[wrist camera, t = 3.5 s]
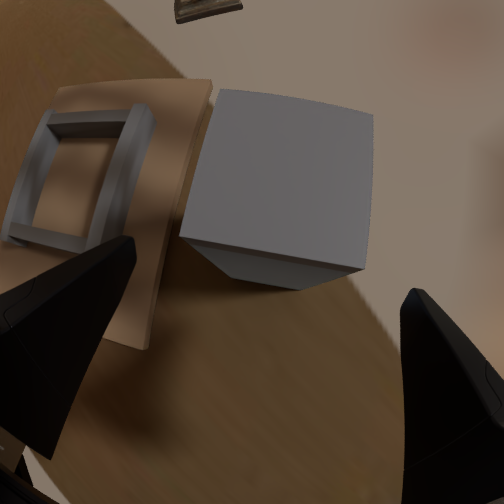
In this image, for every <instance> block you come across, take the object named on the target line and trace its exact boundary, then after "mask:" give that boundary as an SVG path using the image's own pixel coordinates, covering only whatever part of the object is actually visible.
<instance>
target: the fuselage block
mask: <svg viewBox="0 0 504 504" xmlns="http://www.w3.org/2000/svg"><path fill="white" fill-rule="evenodd" d="M372 177H373V115H372V114H368V113H365V112H361V111H357V110H353V109H348V108H344V107H339V106H336V105H331V104H326V103H321V102H316V101H311V100H305V99H300V98H294V97H288V96H281V95H274V94H267V93H259V92H250V91H241V90H229V89H220V91H219V94H218V97H217V100H216V103H215V106H214V109H213V113H212V116H211V119H210V122H209V126H208V129H207V132H206V136H205V139H204V142H203V146H202V149H201V153H200V156H199V160H198V163H197V167H196V171H195V174H194V178H193V182H192V186H191V189H190V193H189V197H188V201H187V205H186V209H185V213H184V217H183V221H182V226H181V230H180V234H179V236H180V237H181V238H182V239H183V240H184V241H186V242H187V243H188V244H189V245H191V246H192V247H193V248H194V249H196V250H197V251H198V252H199V253H201V254H202V255H203V256H204V257H206V258H207V259H208V260H209V261H211V262H212V263H213V264H214V265H216V266H217V267H218V268H219V269H221V270H222V271H223V272H224V273H226V274H227V275H228V276H229V277H231V278H235V279H240V280H246V281H251V282H257V283H262V284H268V285H273V286H279V287H285V288H290V289H296V290H303V289H306V288H309V287H313V286H316V285H319V284H322V283H325V282H328V281H331V280H334V279H337V278H340V277H343V276H346V275H349V274H352V273H355V272H358V271H361V270H363V269H365V263H366V254H367V246H368V236H369V225H370V211H371V196H372Z"/></svg>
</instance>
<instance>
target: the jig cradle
mask: <svg viewBox="0 0 504 504" xmlns="http://www.w3.org/2000/svg"><path fill="white" fill-rule="evenodd" d="M212 89H213V85H212V81H211V80H209V79H135V80H119V81H107V82H97V83H89V84H81V85H73V86H67V87H61V88H59V89H58V91H57V93H56V95H55V96H54V98H53V100H52V102H51V104H50V106H49V108H48V110H46V111H45V113H44V115H43V117H42V119H41V121H40V123H39V125H38V127H37V130H36V132H35V134H34V136H33V138H32V141H31V143H30V145H29V148H28V150H27V153H26V155H25V158H24V160H23V163H22V165H21V168H20V171H19V174H18V176H17V179H16V182H15V185H14V188H13V191H12V194H11V198H10V201H9V204H8V208H7V211H6V215H5V218H4V222H3V226H2V230H1V234H0V240H1V241H0V294H2V293H4V292H6V291H8V290H10V289H12V288H15V287H16V286H18V285H20V284H22V283H24V282H26V281H28V280H30V279H32V278H34V277H36V276H37V275H39V274H41V273H43V272H45V271H47V270H49V269H51V268H53V267H55V266H57V265H59V264H61V263H63V262H65V261H67V260H69V259H71V258H73V257H75V256H77V255H79V254H81V253H83V252H85V251H87V250H90V249H92V248H94V247H96V246H98V245H100V244H102V243H104V242H107V241H109V240H111V239H113V238H115V237H118V236H120V235H128V236H132V237H133V238H134V240H135V246H136V253H137V262H136V265H135V268H134V270H133V272H132V275H131V277H130V280H129V282H128V284H127V287H126V289H125V292H124V294H123V297H122V299H121V301H120V303H119V305H118V307H117V309H116V311H115V313H114V315H113V317H112V319H111V321H110V323H109V325H108V327H107V329H106V331H105V333H104V335H103V337H102V338H105V339H108V340H111V341H114V342H117V343H120V344H124V345H127V346H130V347H133V348H136V349H140V350H145V349H148V348H149V341H150V335H151V329H152V323H153V317H154V311H155V306H156V300H157V295H158V290H159V284H160V279H161V275H162V270H163V265H164V260H165V256H166V251H167V247H168V242H169V238H170V234H171V229H172V225H173V221H174V217H175V213H176V209H177V205H178V201H179V197H180V193H181V190H182V186H183V182H184V179H185V175H186V171H187V168H188V164H189V161H190V157H191V154H192V151H193V147H194V144H195V141H196V137H197V134H198V131H199V128H200V125H201V122H202V118H203V115H204V112H205V109H206V106H207V103H208V100H209V97H210V94H211V92H212Z"/></svg>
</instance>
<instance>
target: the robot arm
mask: <svg viewBox="0 0 504 504" xmlns="http://www.w3.org/2000/svg"><path fill="white" fill-rule="evenodd" d="M136 262H137V253H136V246H135V240H134V238H133V237H132V236H128V235H120V236H118V237H115V238H113V239H111V240H109V241H107V242H104V243H102V244H100V245H98V246H96V247H94V248H92V249H90V250H87V251H85V252H83V253H81V254H79V255H77V256H75V257H73V258H71V259H69V260H67V261H65V262H63V263H61V264H59V265H57V266H55V267H53V268H51V269H49V270H47V271H45V272H43V273H41V274H39V275H37V276H36V277H34V278H32V279H30V280H28V281H26V282H24V283H22V284H20V285H18V286H16V287H15V288H12V289H10V290H8V291H6V292H4V293H2V294H0V504H59V503H58V502H56V501H54V500H53V499H51V498H49V497H48V496H46V495H45V494H43V493H41V492H40V491H38V490H37V489H35V488H34V487H33V483H32V481H31V478H30V475H29V472H28V469H27V466H26V463H25V459H24V456H23V454H22V453H23V451H24V448H25V446H26V445H27V446H28V447H30V448H31V449H33V450H34V451H36V452H37V453H39V454H41V455H42V456H44V457H45V458H47V459H49V460H51V458H52V456H53V453H54V451H55V448H56V445H57V442H58V439H59V437H60V434H61V431H62V429H63V426H64V424H65V421H66V418H67V416H68V413H69V411H70V408H71V406H72V403H73V401H74V398H75V396H76V394H77V391H78V389H79V387H80V384H81V382H82V380H83V377H84V375H85V373H86V371H87V369H88V366H89V364H90V362H91V360H92V358H93V356H94V353H95V351H96V349H97V347H98V345H99V343H100V341H101V339H102V337H103V335H104V333H105V331H106V329H107V327H108V325H109V323H110V321H111V319H112V317H113V315H114V313H115V311H116V309H117V307H118V305H119V303H120V301H121V299H122V297H123V294H124V292H125V289H126V287H127V284H128V282H129V280H130V277H131V275H132V272H133V270H134V268H135V265H136ZM400 338H401V339H400V349H401V364H402V376H403V392H404V418H405V451H404V474H403V489H402V501H401V504H504V380H503V379H502V378H501V376H500V375H499V374H498V373H497V372H496V370H495V369H494V368H493V367H492V366H491V364H490V363H489V362H488V361H487V360H486V358H485V357H484V356H483V355H482V353H480V351H479V350H478V349H477V348H476V346H475V345H474V344H473V343H472V342H471V341H470V339H469V338H468V337H467V336H466V335H465V334H464V333H463V332H462V330H461V329H460V328H459V327H458V326H457V325H456V324H455V322H453V320H452V319H451V318H450V317H449V316H448V315H447V314H446V313H445V312H444V311H443V310H442V309H441V307H440V306H439V305H438V304H437V303H436V302H435V301H434V300H433V299H432V298H431V297H430V296H429V295H428V294H427V293H426V292H425V291H424V290H423V289H418V288H412V289H411V290H410V291H409V293H408V295H407V297H406V298H405V300H404V302H403V304H402V306H401V309H400Z"/></svg>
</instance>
